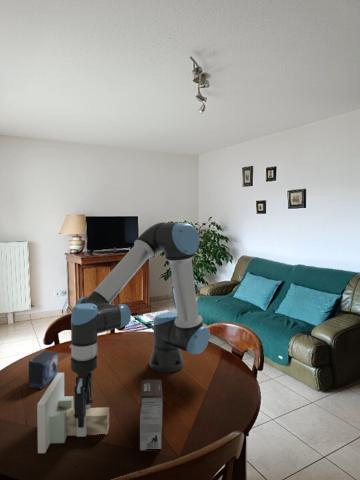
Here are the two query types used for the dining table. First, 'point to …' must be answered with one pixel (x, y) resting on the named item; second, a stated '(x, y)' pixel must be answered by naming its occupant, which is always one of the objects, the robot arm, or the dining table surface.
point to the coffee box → (151, 414)
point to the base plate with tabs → (53, 414)
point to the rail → (88, 421)
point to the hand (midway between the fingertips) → (83, 430)
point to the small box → (43, 369)
